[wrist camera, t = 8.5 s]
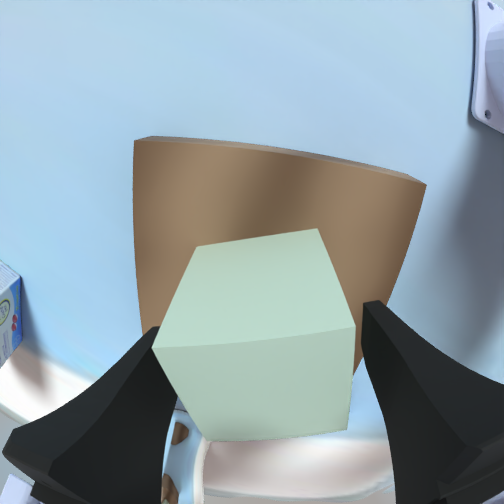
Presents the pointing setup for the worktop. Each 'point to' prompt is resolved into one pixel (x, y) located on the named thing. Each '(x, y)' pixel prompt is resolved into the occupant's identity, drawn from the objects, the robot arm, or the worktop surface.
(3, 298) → the medicine box
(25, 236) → the worktop surface
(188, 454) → the beer glass
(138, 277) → the walnut base
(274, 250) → the sage block
